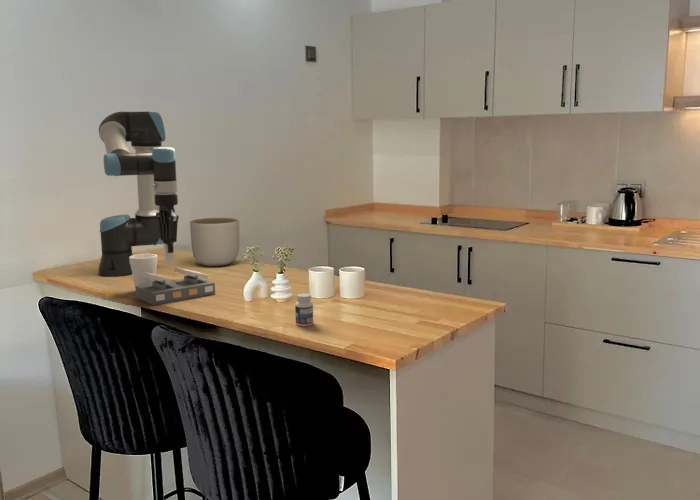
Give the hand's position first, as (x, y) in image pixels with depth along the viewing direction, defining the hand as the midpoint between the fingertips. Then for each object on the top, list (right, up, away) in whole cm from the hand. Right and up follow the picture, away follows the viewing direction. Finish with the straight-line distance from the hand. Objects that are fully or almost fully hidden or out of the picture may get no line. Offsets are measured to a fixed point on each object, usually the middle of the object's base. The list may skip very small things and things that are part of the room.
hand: (169, 261), depth 225 cm
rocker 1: (-3, -6, -2) cm, 7 cm away
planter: (+4, -2, +59) cm, 59 cm away
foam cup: (-11, -11, +9) cm, 18 cm away
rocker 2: (+6, -5, +6) cm, 10 cm away
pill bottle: (+49, -18, -32) cm, 61 cm away
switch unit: (+1, -12, +3) cm, 12 cm away
